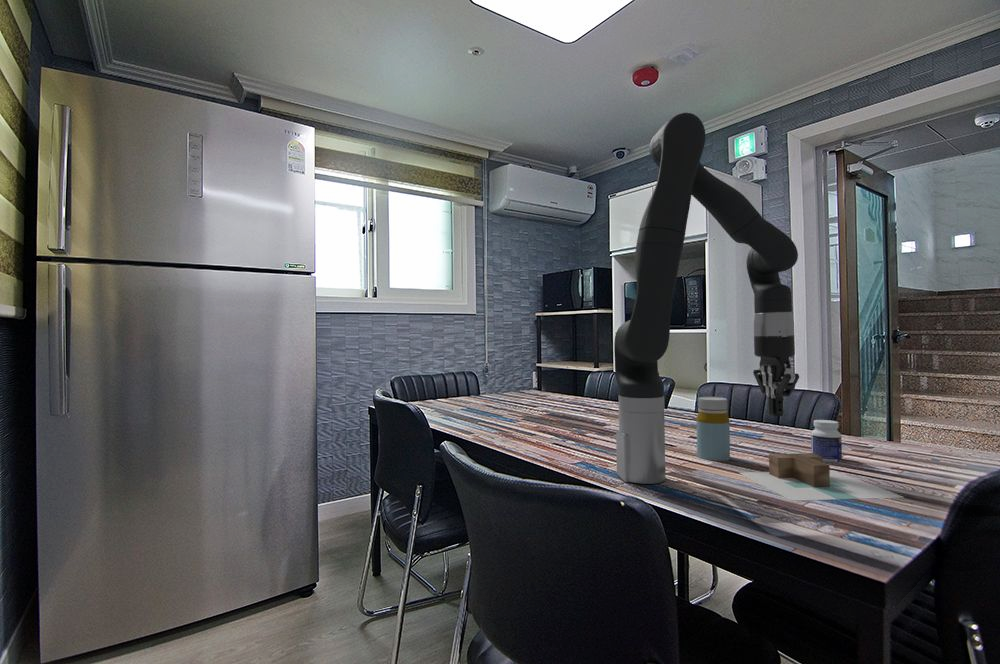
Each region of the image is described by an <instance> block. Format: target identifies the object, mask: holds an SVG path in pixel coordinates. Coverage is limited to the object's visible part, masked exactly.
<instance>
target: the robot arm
mask: <svg viewBox="0 0 1000 664" xmlns="http://www.w3.org/2000/svg"><path fill="white" fill-rule="evenodd" d="M706 135H707V134H706V129H705V126H704V124H703V121H702V120H701V119H700V118H699V116H698V115H696V114H694V113H692V112H682V113H677V114H676V115H674V116H673V117H671V118H670V119H668V120H667V121H666V122H665V123H664V124H663V125H662V126H661V127H660V129H659V130H658V131H656V133H655V134H654V135H653V136H652V139H651V140H650V143H649V155H650V158H651V159H652V161H653V162H654V164H655V165H656V166H657V167H658V168H659V170H658V171H659V172H658V177H657V180H656V184H655V186H654V189H653V191H652V193H651V195H650V198H649V200H648V202H647V205H646V208H645V210H644V213H643V215H642V219H641V221H640V225H639V229H638V234H637V239H636V244H635V245H636V246H635V253H634V254H635V255H634V257H635V258H634V266H635V275H636V277H635V278H636V296H635V300H634V304H633V310H632V313H631V318H630V319H629V320H627V321H625V322H624V323H622V324H621V325H620V326H619V327H618V328H617V330H616V332H615V335H614V343H613V344H614V345H613V346H614V347H613V349H614V353H613V354H614V371H615V380H616V383H617V388H618V391H617V392H618V429H616V431H615V438H616V439H615V440H616V441H615V442H616V446H615V447H616V449H615V451H616V456H615V457H616V475H617V476H618V477H619V478H620V479H621V480H622V481H623V482H624V483H635V484H643V485H646V484H649V485H652V484H653V485H654V484H659V483H663V482H664V481H666V473H667V471H666V432H665V431H666V425H665V423H666V421H665V419H666V418H665V415H666V414H665V385H664V382H663V380H662V378H661V376H660V373H659V372H660V371H659V367H658V365H659V363H658V361H659V360H660V359H661V358H662V357H663V356H664V355H665V354H666V352H667V349H668V346H669V342H670V332H671V317H672V316H671V315H672V308H673V297H674V293H675V292H674V291H675V287H676V284H677V283H676V282H677V279H678V273H679V267H680V262H681V258H682V253H683V248H684V243H685V238H686V232H687V231H686V230H687V225H688V224H687V223H688V219H689V213H690V209H691V208H690V205H691V201H692V200H691V199H692V197H693V198H694V199H695V200H696V201H697V202H698V203H700V204H701V206H702V207H704V209H706V210H707V212H708V213H710V215H711V216H712V217H713V218H714V219H715V220H716V221H717V223H718V224H719V225H720V226H721V228H723V230H724V231H725V232H726V233H727V234H728V236H729V237H730V238H731V239H732V240H733V241H734V242H735V243H737V244H745V245H747V246H749V247H750V250H749V251H748V253H747V256H746V271H747V274H748V279H749V282H750V285H751V289H752V292H753V295H754V296H753V303H754V308H753V309H754V319H753V344H754V345H753V348H754V349H753V350H754V356H755V357H758V358H759V357H760V361H759V368H758V369H753V374H752V375H753V376H754V378H755V380H756V383H757V385H758V388H759V389H760V392H761V393H762V394H765V396H766V398H768V399H767V400H768V414H769V415H770V416H772V417H782V416H783V415H784V399H785V398H786V397H790V396H791V395H792V393H793V391H794V389H795V386H796V385H797V383H798V381H799V379H800V374H799V373H793V371H792V365H791V362H790V358H791V357H794V356H795V354H796V350H795V349H796V347H795V346H796V345H795V322H794V318H793V317H794V316H793V300H792V299H793V298H792V297H793V296H792V290H791V288H790V286H788V285H786V284H782V282H781V277H780V274H779V273H782V272H786V271H788V270H791V268H793V267H794V266H795V265H796V263H797V262H798V259H799V258H798V257H799V253H798V248H797V246H796V244H795V243H794V241H793V240H792V239H791V238H790V237H789V236H788V235H787V234H786V233H785V232H783V231H782V230H780V229H779V228H778V227H777V226H775V225H774V224H772V223H771V222H769V221H767V220H766V219H765V218H764V217H763V216H762V215H761V213H759V210H757V209H756V208H755V206H754V205H753V204H752V203H751V202H750V200H748V199H747V197H746V196H745V195H744V194H742V193H741V192H740V191H738V190H737V189H736V188H734V187H733V186H732V185H730V184H728V183H726V182H725V181H723V180H721V179H720V178H718V177H716V176H715V175H714V174H712V173H711V172H710V171H709V170H708V169H706V168H705V166H704V165H703V164H702V163H701V162H700V161H701V158H702V155H703V151H704V148H705V144H706Z"/></svg>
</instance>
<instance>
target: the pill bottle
mask: <svg viewBox="0 0 1000 664" xmlns="http://www.w3.org/2000/svg"><path fill="white" fill-rule="evenodd" d="M839 423H840V422H839V421H837V420H836V421H835V420H830V419H828V420H827V419H815V420H813V426H814V429H813V430H812V431H811V433H810V434H811V435H810V436H811V441H810V443H811V445H810V446H811V450H810V451H811V453H813V454H816V455H819V456H822V457H823V462H824V463H825V462H826V463H840V462H842V461H843V447H842V443H843V441H842V439H843V438H842V434H841V432H839V430H838V429H839V427H840V426H839V425H840V424H839Z"/></svg>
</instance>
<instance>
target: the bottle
mask: <svg viewBox="0 0 1000 664" xmlns="http://www.w3.org/2000/svg"><path fill="white" fill-rule="evenodd" d="M697 407H698V409H697V410H698V411H697V412H698V413H697V415H696V456H697V458H698V459H702V460H704V461H705V460H706V461H715V462H725V461H729V460H731V442H730V441H731V440H730V439H731V437H730V436H731V434H730V433H731V431H730V416H729V415H728V399H727V398H726V397H721V396H701V397H698V398H697Z"/></svg>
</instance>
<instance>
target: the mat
mask: <svg viewBox="0 0 1000 664" xmlns="http://www.w3.org/2000/svg"><path fill="white" fill-rule="evenodd" d="M739 474H741V475H742V476H744V477H746V478H747V479H749V480H751V481H753V482H755V483H757V484H759V485H761V486H762V487H764V488H766V489H769V490H770V491H772V492H774V493H776V494H778V495H780V496H781V497H784V498H785V499H788V500H789V501H790V502H791V501H793V502H795V501H798V502H799V501H825V500H826V501H830V500H833V501H834V500H835V501H837V500H859V499H860V500H863V499H865V500H868V499H871V500H873V499H898V498H899V499H900V498H902V499H903V498H904V499H905V496H903V495H900V494H897V493H894V492H892V491H889V490H886V489H884V488H882V487H880V486H879V487H878V486H877V485H874V484H871V483H869V482H866V481H863V480H860V479H858V478H855V477H853V476H851V475H847V474H844V473H842V472H840V471H837V470H834V469H830V487H812V486H810V485H808V484H805V483H803V482H801V481H799V480H797V479H795V478H777V477H775V476H772V475H770V474H769V471H751V472H749V471H748V472H739Z"/></svg>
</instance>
